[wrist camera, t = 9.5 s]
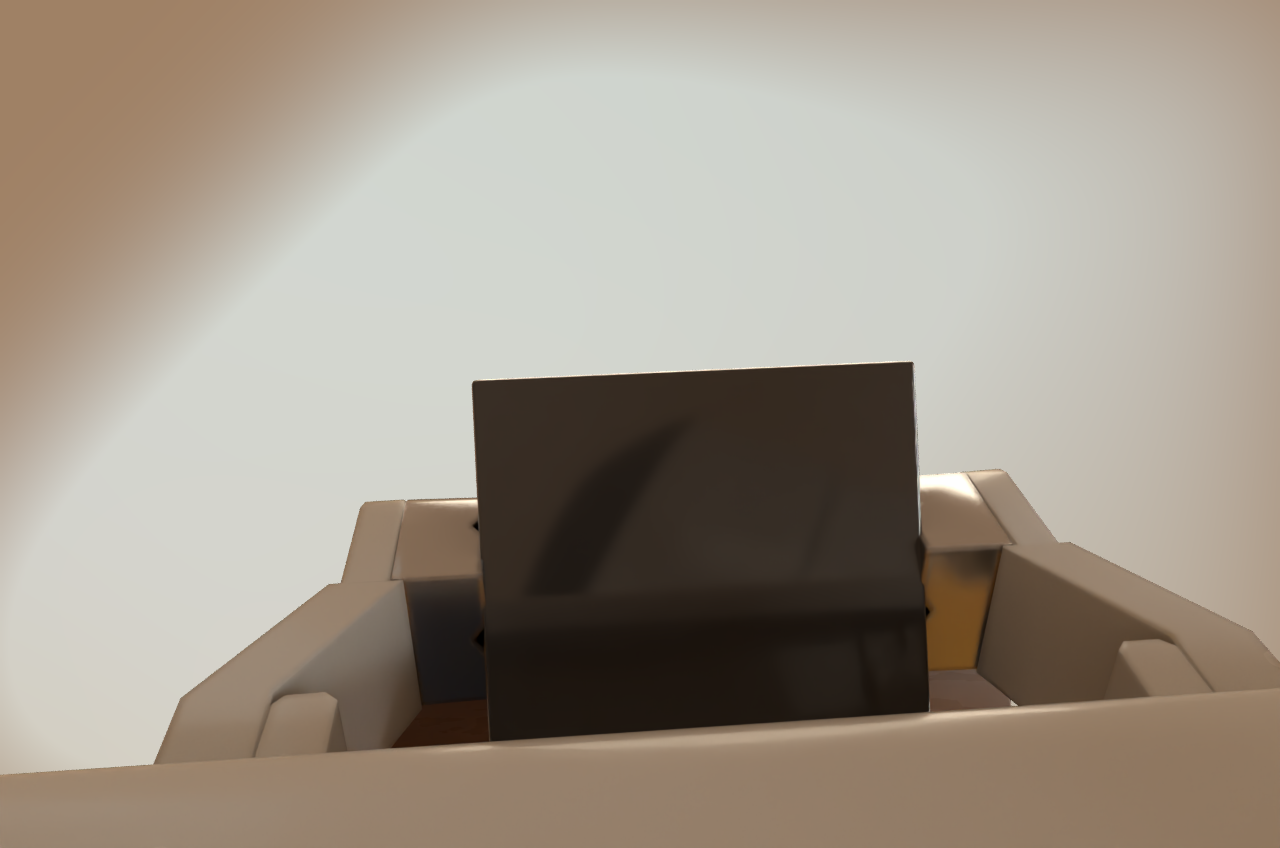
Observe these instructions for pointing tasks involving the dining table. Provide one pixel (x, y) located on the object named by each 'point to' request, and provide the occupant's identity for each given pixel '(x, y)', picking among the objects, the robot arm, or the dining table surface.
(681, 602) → the drawer
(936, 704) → the stand
